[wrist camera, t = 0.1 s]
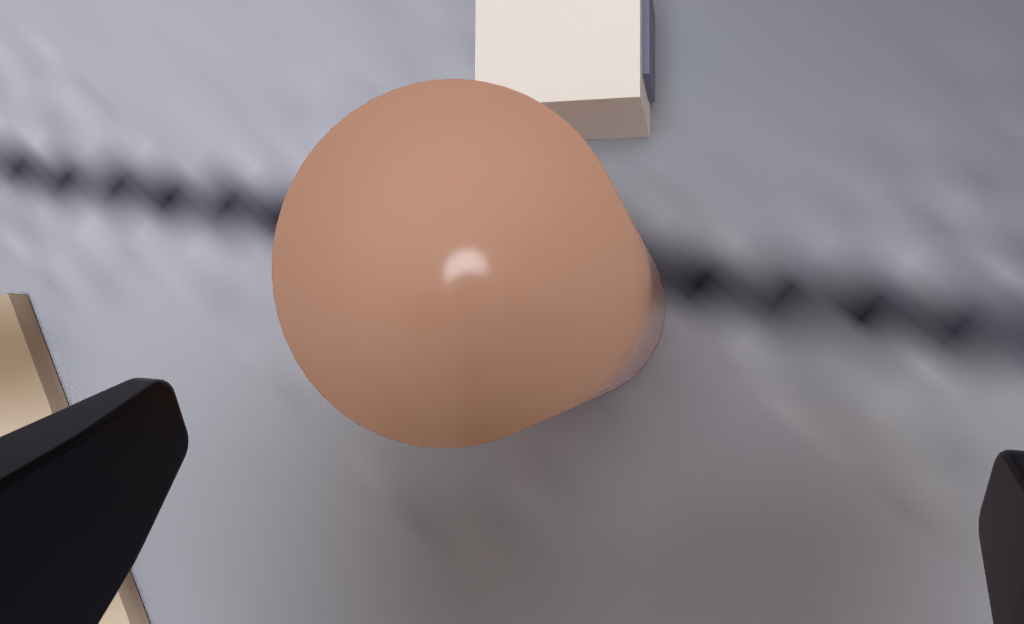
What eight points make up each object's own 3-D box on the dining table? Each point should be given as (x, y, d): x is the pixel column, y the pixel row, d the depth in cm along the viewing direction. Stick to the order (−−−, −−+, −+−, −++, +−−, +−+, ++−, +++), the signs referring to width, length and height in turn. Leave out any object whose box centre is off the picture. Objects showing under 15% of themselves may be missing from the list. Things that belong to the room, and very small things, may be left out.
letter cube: (656, 137, 24) (647, 96, 20) (510, 144, 25) (475, 106, 21) (656, -4, 24) (646, -72, 20) (511, 8, 25) (476, -55, 21)
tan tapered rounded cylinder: (697, 352, 24) (693, 352, 11) (527, 428, 24) (354, 505, 12) (617, 182, 24) (529, 13, 12) (453, 263, 25) (220, 182, 13)
